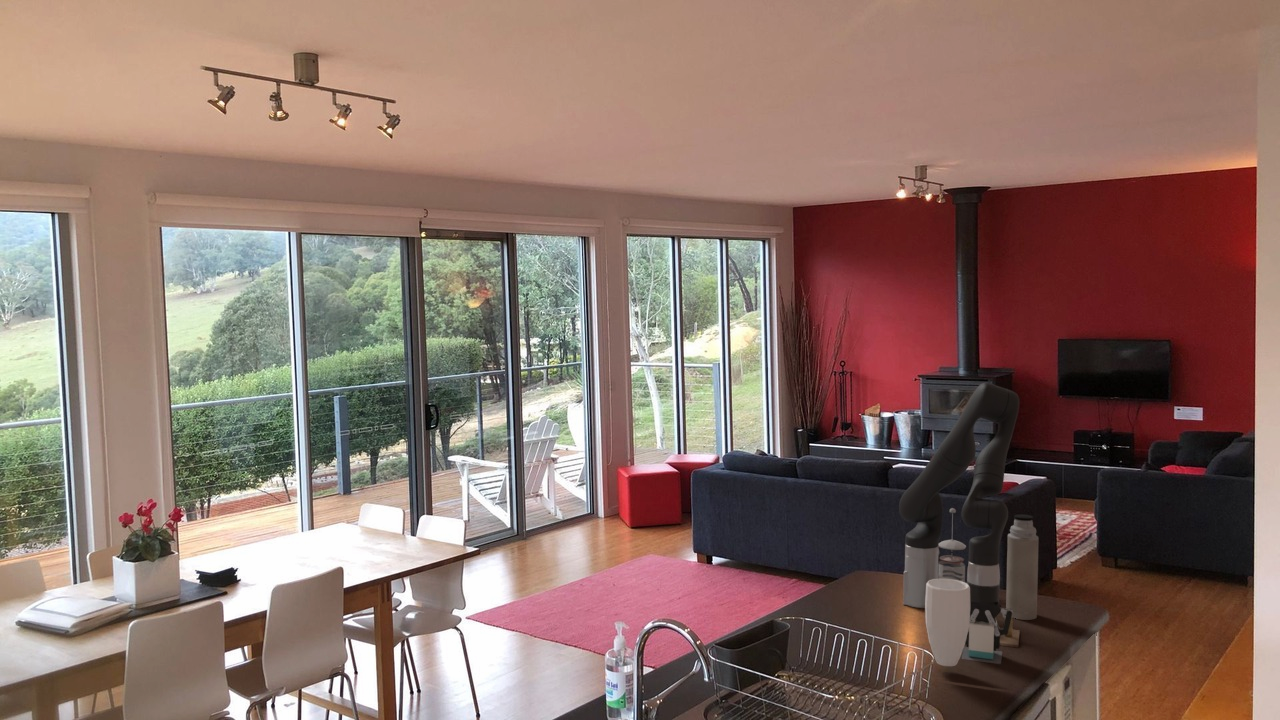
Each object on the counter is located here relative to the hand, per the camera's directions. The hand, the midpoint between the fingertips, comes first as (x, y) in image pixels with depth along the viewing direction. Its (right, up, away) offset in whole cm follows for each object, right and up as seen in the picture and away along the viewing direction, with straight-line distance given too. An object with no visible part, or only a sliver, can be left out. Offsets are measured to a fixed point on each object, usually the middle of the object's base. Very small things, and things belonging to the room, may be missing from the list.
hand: (981, 647), depth 241 cm
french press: (+9, +1, +56) cm, 56 cm away
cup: (-12, -3, -11) cm, 17 cm away
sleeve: (0, -2, 0) cm, 2 cm away
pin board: (+8, -2, +13) cm, 15 cm away
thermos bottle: (+22, -1, +32) cm, 39 cm away
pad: (0, -2, 0) cm, 2 cm away
